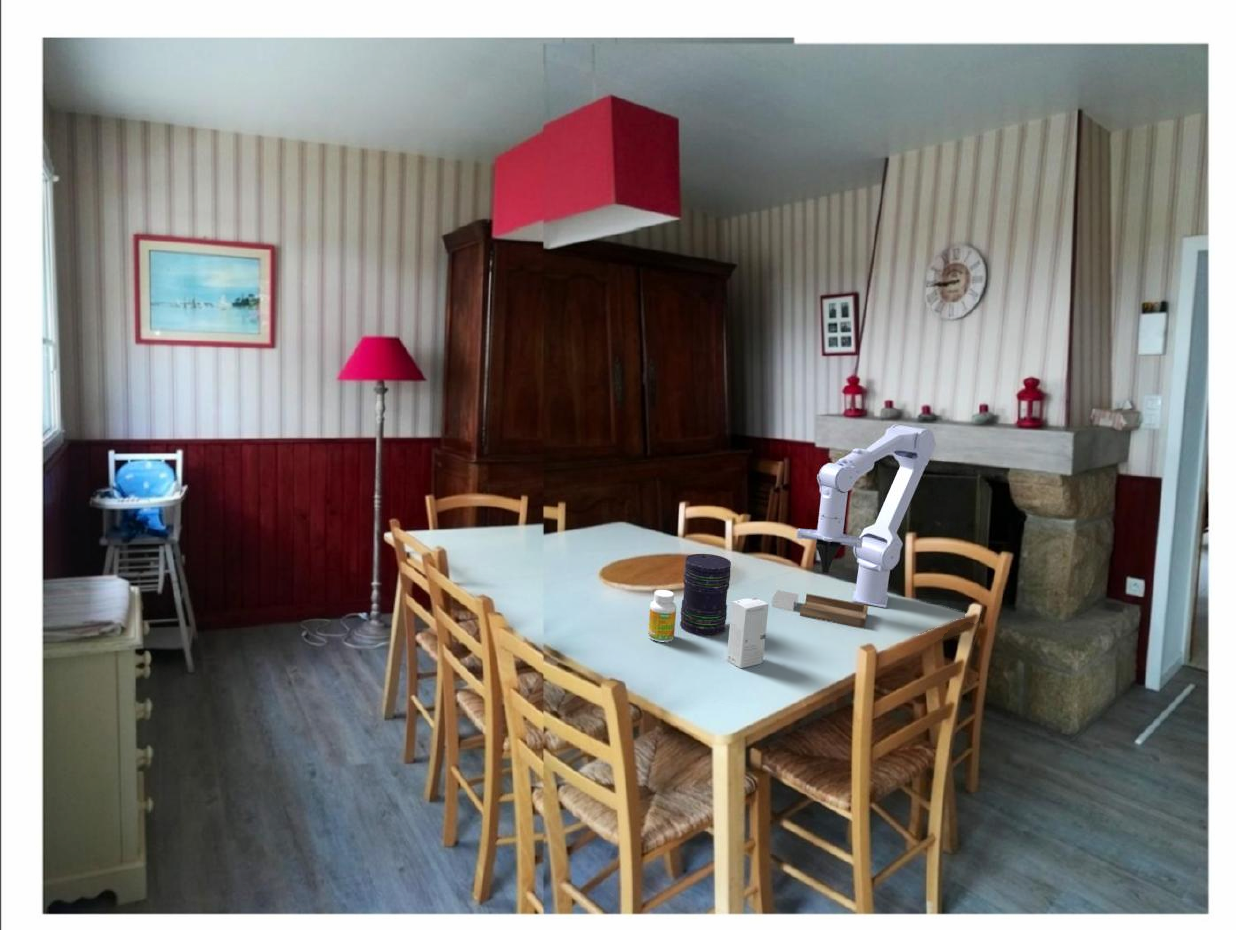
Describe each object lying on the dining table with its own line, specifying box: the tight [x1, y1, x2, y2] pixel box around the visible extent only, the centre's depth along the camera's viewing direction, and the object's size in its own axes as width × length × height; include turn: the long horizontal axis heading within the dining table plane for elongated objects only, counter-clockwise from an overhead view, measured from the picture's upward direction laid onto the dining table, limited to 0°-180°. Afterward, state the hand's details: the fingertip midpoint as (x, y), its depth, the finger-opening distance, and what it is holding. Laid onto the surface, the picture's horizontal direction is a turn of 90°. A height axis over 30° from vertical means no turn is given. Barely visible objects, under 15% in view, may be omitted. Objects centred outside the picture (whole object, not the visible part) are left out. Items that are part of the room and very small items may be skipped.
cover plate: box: [771, 590, 800, 612], centre depth 172 cm, size 6×5×2 cm
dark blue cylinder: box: [679, 553, 732, 637], centre depth 154 cm, size 10×10×15 cm
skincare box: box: [726, 597, 769, 669], centre depth 139 cm, size 6×4×12 cm
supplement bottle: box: [647, 589, 677, 643], centre depth 148 cm, size 5×5×10 cm
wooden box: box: [799, 593, 869, 629], centre depth 167 cm, size 10×14×2 cm
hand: (825, 572), depth 168 cm, fingers closed
